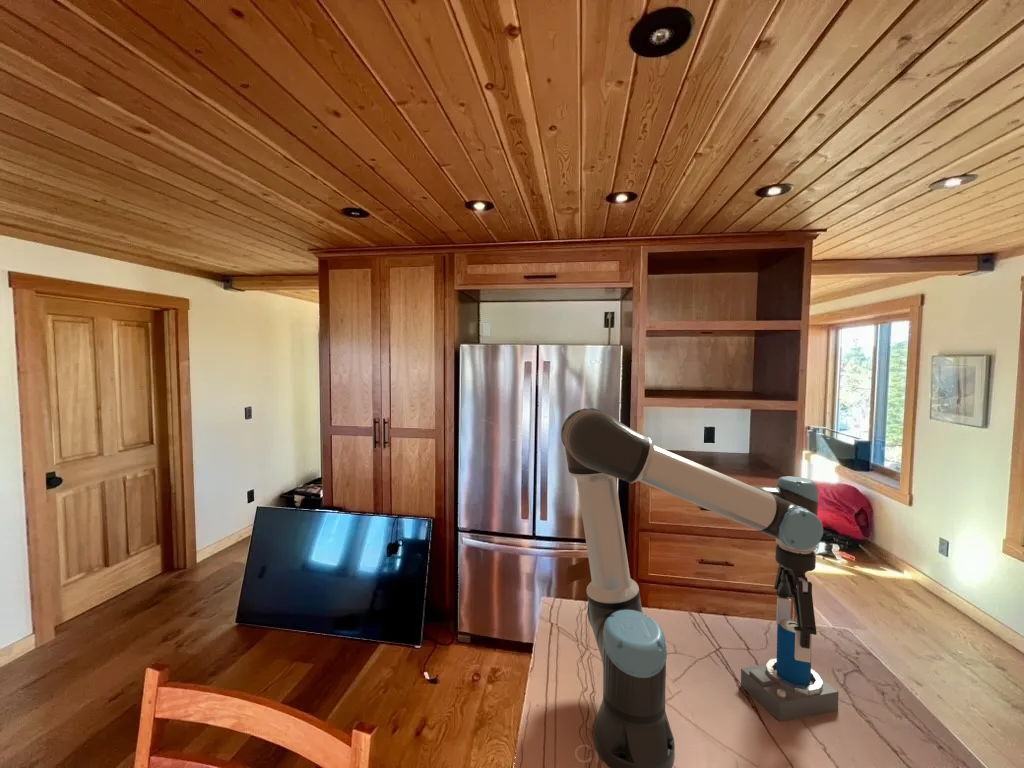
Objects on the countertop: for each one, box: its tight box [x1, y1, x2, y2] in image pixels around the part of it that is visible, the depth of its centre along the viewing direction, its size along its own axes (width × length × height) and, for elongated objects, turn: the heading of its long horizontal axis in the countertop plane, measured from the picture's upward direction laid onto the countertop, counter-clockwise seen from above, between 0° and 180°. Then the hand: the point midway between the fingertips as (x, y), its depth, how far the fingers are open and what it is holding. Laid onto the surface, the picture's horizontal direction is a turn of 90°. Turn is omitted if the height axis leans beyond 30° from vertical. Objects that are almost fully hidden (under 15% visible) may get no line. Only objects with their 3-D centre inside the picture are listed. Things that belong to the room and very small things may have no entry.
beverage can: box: [776, 618, 813, 686], centre depth 98 cm, size 6×6×12 cm
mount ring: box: [765, 657, 823, 696], centre depth 98 cm, size 10×10×1 cm
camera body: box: [740, 663, 839, 723], centre depth 98 cm, size 15×11×5 cm
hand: (792, 641), depth 98 cm, fingers open, 13 cm apart
